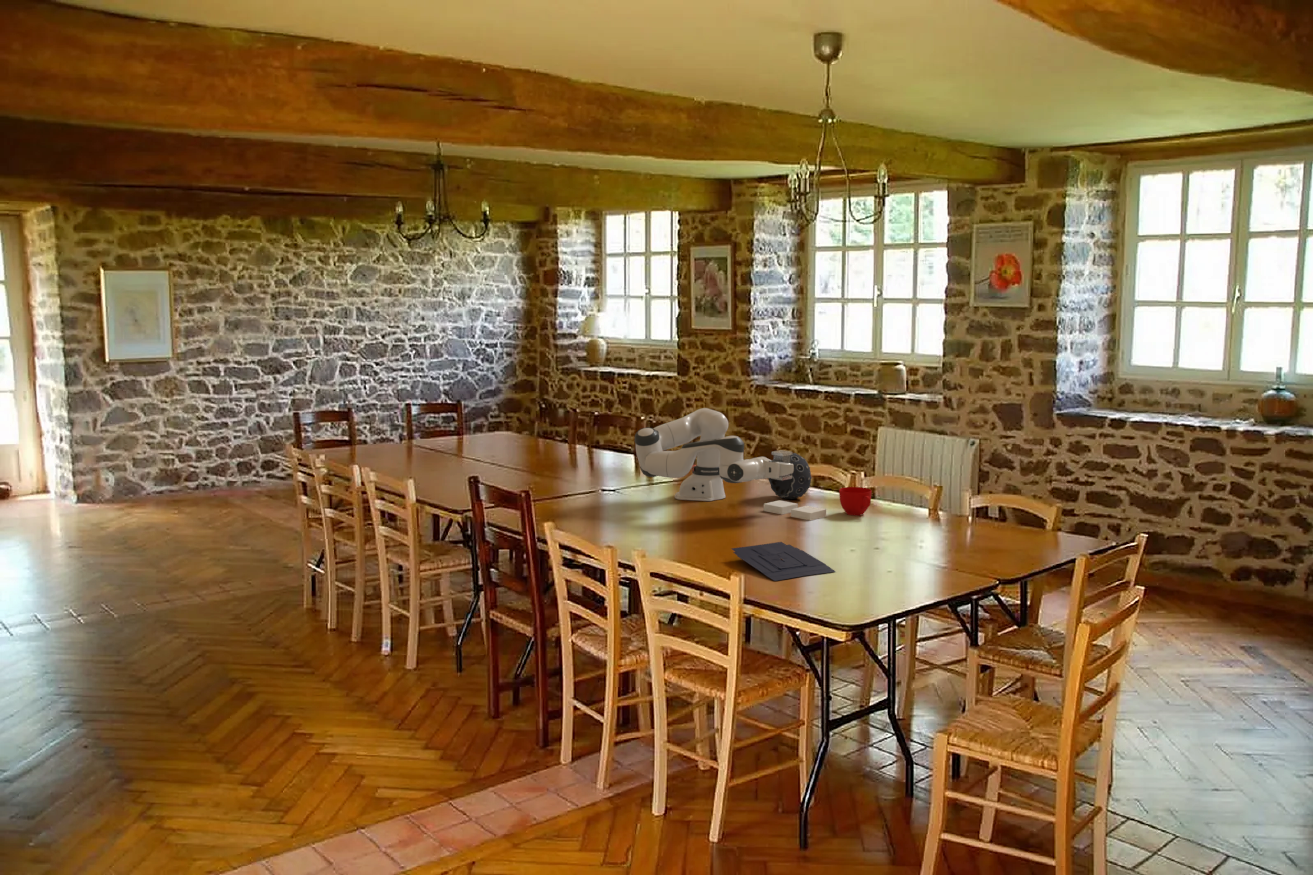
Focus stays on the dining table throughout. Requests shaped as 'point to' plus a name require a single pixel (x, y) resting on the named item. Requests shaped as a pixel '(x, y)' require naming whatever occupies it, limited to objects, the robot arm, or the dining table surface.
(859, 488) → the ceramic cup
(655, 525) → the dining table surface
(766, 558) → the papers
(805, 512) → the stand
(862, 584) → the dining table surface
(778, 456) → the housing
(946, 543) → the dining table surface
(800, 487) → the dark grey rounded piece
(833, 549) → the dining table surface
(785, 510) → the stand
